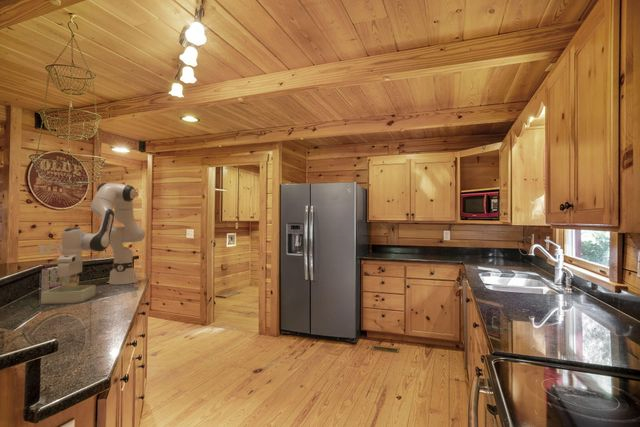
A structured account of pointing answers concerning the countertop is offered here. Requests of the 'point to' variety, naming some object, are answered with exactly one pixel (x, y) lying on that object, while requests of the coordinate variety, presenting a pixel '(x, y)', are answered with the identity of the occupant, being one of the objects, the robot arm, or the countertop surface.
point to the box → (68, 294)
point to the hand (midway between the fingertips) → (70, 283)
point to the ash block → (73, 280)
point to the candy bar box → (50, 279)
